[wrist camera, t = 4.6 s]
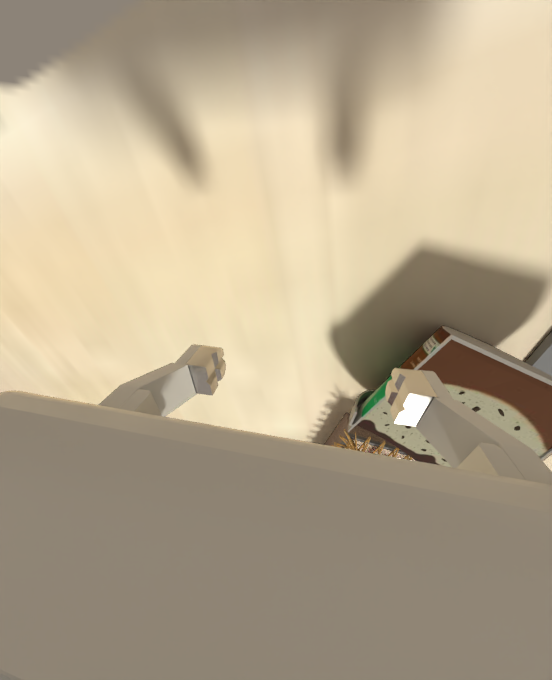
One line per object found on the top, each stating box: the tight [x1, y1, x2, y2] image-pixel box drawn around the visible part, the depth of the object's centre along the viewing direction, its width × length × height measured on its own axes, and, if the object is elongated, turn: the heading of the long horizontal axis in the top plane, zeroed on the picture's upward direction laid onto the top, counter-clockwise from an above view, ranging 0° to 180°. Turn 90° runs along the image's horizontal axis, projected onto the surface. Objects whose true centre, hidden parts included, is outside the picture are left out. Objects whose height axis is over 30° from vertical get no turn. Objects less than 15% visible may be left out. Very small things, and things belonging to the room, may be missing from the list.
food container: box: [348, 326, 552, 467], centre depth 17 cm, size 12×6×10 cm
